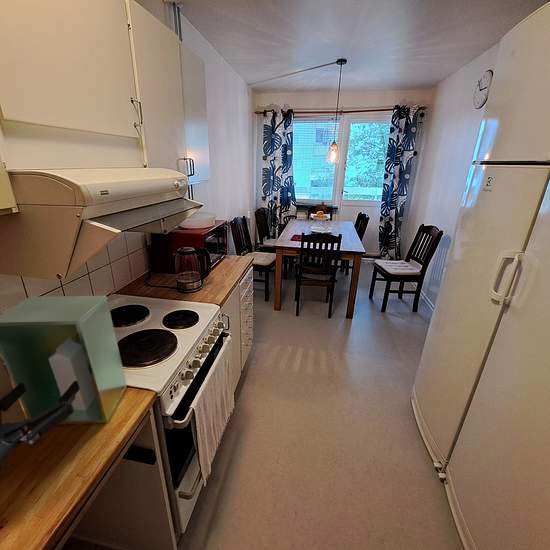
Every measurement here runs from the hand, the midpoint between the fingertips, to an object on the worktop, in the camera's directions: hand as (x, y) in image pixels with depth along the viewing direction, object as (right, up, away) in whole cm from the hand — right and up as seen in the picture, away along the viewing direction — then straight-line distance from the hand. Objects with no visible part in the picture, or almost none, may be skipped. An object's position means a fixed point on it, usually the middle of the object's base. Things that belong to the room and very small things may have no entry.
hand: (50, 385), depth 74 cm
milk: (-1, -11, +13) cm, 17 cm away
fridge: (-1, -11, +14) cm, 18 cm away
